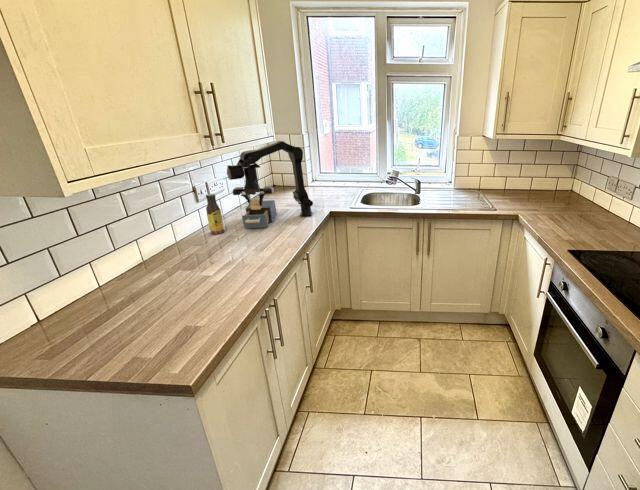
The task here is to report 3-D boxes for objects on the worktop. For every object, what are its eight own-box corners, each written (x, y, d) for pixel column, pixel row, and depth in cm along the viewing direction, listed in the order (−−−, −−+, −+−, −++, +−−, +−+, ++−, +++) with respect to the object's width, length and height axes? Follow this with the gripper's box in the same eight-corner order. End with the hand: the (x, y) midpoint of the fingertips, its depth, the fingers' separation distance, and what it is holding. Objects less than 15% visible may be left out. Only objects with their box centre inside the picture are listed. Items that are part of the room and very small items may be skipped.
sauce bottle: (218, 235, 157) (210, 196, 149) (207, 234, 158) (198, 195, 150) (227, 230, 163) (220, 193, 155) (217, 229, 164) (209, 192, 156)
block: (253, 207, 168) (251, 199, 166) (261, 206, 169) (260, 199, 167) (251, 209, 164) (249, 201, 162) (260, 209, 165) (258, 201, 163)
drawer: (265, 230, 161) (263, 218, 159) (241, 231, 159) (239, 219, 156) (271, 218, 178) (270, 207, 175) (250, 219, 176) (248, 208, 173)
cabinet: (272, 222, 175) (270, 207, 172) (248, 223, 173) (245, 208, 170) (276, 213, 189) (274, 200, 185) (254, 214, 186) (251, 201, 183)
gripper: (226, 181, 151) (232, 212, 157) (267, 179, 154) (272, 210, 160) (233, 176, 161) (238, 205, 167) (271, 175, 165) (275, 204, 170)
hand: (256, 206), depth 166 cm, fingers closed on block, 4 cm apart
